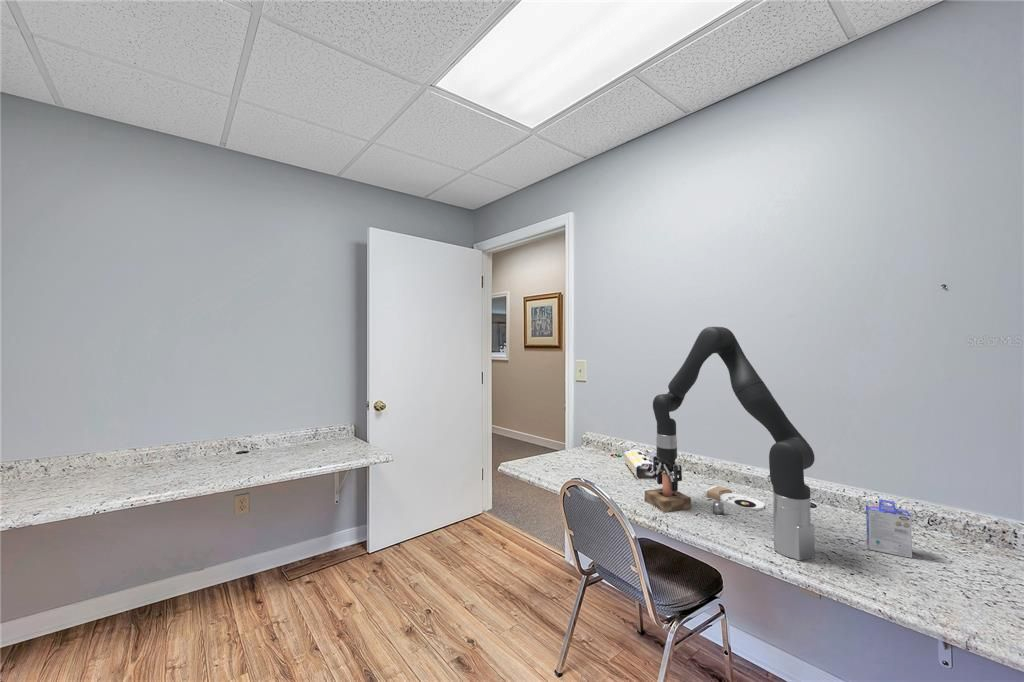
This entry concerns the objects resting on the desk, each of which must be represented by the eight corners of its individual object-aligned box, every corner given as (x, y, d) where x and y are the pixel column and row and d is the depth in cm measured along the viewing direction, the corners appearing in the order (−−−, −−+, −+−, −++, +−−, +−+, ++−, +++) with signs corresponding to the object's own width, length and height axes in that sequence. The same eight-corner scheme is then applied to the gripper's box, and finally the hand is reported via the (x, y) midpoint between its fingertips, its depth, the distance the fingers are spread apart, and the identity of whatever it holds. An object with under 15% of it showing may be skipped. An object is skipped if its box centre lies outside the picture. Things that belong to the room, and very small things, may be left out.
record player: (718, 484, 175) (770, 499, 159) (718, 491, 175) (770, 507, 159) (703, 490, 168) (755, 506, 152) (703, 498, 168) (755, 515, 152)
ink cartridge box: (908, 550, 124) (907, 502, 124) (913, 559, 120) (913, 508, 120) (865, 542, 130) (864, 496, 130) (868, 550, 125) (868, 501, 125)
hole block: (691, 508, 157) (690, 497, 157) (663, 512, 154) (663, 501, 154) (670, 497, 169) (670, 487, 169) (644, 500, 165) (644, 490, 165)
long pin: (674, 505, 160) (674, 474, 160) (666, 507, 159) (666, 475, 159) (668, 502, 163) (668, 471, 163) (660, 503, 162) (660, 472, 162)
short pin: (725, 515, 151) (725, 504, 151) (717, 516, 150) (717, 505, 150) (718, 511, 154) (718, 500, 154) (710, 512, 153) (710, 501, 153)
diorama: (658, 480, 190) (658, 452, 190) (635, 480, 190) (635, 451, 190) (644, 464, 214) (644, 439, 215) (624, 464, 215) (624, 439, 215)
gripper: (687, 449, 155) (687, 492, 155) (663, 440, 169) (663, 480, 169) (670, 450, 153) (670, 495, 153) (647, 442, 167) (647, 482, 167)
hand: (667, 487), depth 161 cm, fingers open, 8 cm apart
